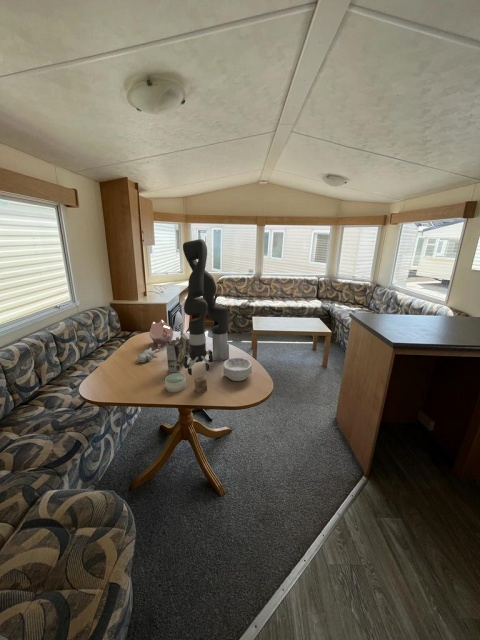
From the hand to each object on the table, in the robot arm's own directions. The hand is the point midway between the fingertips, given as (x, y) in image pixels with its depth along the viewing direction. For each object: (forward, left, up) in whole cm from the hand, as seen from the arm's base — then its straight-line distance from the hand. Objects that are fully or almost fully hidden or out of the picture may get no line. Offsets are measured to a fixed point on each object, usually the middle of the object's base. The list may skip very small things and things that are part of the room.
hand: (198, 372), depth 126 cm
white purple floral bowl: (-23, -2, -10) cm, 25 cm away
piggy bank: (+1, -71, -10) cm, 72 cm away
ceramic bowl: (+9, -9, -10) cm, 16 cm away
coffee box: (+3, -28, -10) cm, 30 cm away
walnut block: (-1, 0, -10) cm, 10 cm away
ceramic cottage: (-8, -44, -10) cm, 46 cm away
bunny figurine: (+15, -50, -10) cm, 53 cm away
